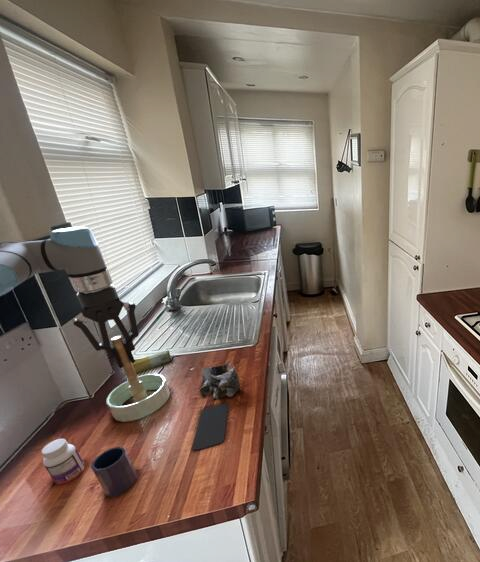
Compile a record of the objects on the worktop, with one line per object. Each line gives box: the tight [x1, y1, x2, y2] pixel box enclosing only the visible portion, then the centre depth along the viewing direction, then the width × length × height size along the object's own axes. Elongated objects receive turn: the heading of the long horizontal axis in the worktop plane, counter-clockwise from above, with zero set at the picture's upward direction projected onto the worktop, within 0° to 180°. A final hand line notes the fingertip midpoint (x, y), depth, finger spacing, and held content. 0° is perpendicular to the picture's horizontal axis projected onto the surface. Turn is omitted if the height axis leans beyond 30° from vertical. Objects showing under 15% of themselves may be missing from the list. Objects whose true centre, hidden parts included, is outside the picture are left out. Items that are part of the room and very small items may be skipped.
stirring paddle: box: [110, 335, 149, 403], centre depth 88 cm, size 3×2×22 cm
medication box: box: [132, 350, 173, 374], centre depth 110 cm, size 12×3×4 cm, turn 129°
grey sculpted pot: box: [199, 361, 241, 399], centre depth 98 cm, size 12×11×15 cm
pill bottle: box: [41, 438, 86, 485], centre depth 71 cm, size 5×5×10 cm
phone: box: [192, 402, 229, 451], centre depth 84 cm, size 7×1×15 cm
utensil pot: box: [90, 446, 138, 498], centre depth 68 cm, size 6×6×9 cm
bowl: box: [106, 373, 171, 423], centre depth 92 cm, size 14×14×6 cm
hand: (126, 363), depth 87 cm, fingers closed on stirring paddle, 2 cm apart
